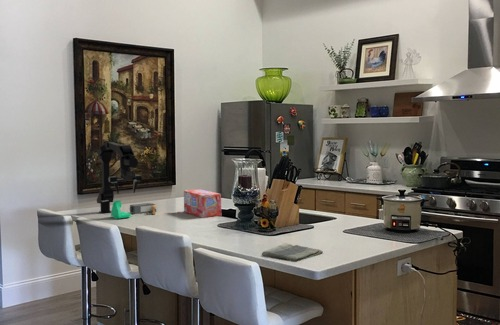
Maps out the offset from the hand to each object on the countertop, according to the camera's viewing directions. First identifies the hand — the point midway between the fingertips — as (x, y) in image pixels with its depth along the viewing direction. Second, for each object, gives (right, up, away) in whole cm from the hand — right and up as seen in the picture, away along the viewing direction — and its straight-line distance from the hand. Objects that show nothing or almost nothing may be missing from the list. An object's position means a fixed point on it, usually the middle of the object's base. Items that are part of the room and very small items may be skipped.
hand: (126, 193), depth 329 cm
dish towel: (+89, -20, -101) cm, 136 cm away
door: (+15, -13, +14) cm, 24 cm away
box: (+44, -13, +7) cm, 46 cm away
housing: (+6, -13, +19) cm, 23 cm away
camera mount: (-3, -15, +1) cm, 15 cm away
